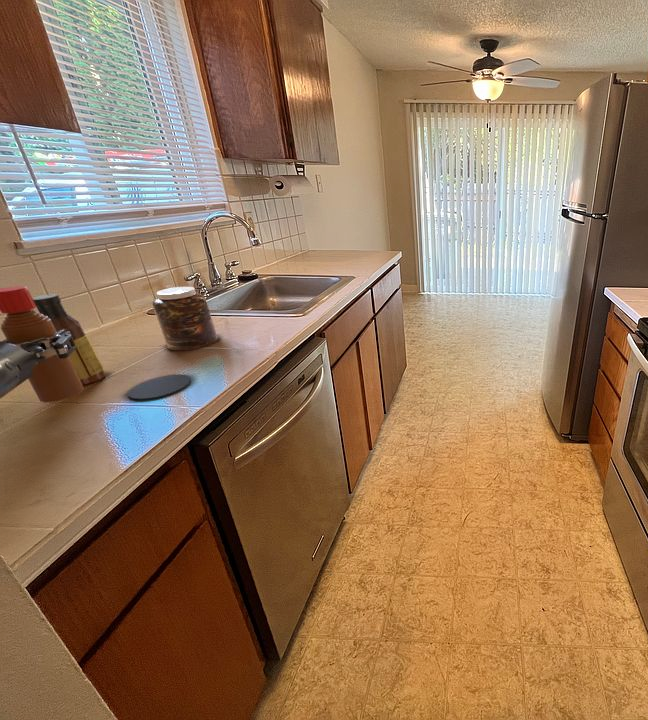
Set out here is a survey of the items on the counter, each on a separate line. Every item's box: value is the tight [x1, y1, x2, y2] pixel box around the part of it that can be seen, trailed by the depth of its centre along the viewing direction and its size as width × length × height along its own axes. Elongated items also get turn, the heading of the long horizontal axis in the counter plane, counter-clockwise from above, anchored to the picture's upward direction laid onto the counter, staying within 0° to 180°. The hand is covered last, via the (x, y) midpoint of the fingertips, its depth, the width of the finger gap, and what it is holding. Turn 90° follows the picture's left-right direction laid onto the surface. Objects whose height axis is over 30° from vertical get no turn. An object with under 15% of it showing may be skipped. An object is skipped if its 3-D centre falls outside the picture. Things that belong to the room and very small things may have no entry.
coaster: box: [127, 374, 192, 401], centre depth 87 cm, size 11×11×1 cm
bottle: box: [0, 309, 85, 403], centre depth 70 cm, size 6×6×20 cm
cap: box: [0, 285, 37, 314], centre depth 67 cm, size 4×4×4 cm
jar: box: [152, 286, 219, 351], centre depth 108 cm, size 12×12×15 cm
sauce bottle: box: [32, 293, 106, 386], centre depth 87 cm, size 7×6×20 cm
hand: (43, 337), depth 72 cm, fingers closed on bottle, 6 cm apart
